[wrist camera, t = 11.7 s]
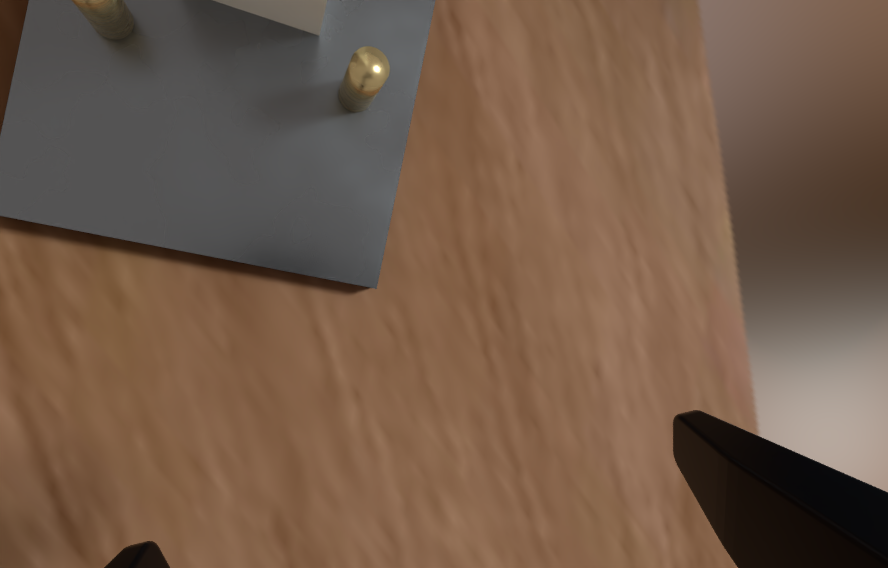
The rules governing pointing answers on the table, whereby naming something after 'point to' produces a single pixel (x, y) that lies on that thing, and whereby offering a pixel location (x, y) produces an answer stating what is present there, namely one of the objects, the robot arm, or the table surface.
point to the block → (286, 11)
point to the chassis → (216, 128)
